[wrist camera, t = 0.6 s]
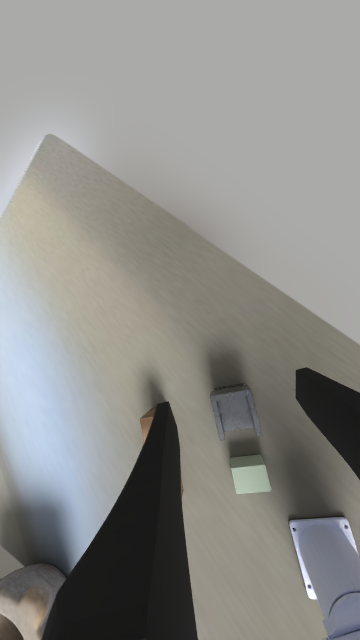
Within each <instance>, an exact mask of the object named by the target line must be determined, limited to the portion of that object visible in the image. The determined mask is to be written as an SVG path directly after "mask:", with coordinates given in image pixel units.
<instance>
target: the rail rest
mask: <svg viewBox="0 0 360 640" xmlns="http://www.w3.org/2000/svg"><path fill="white" fill-rule="evenodd" d="M230 462H231V470H232V475H233V479H234V484H235V488H236V493H237V494H245V493H257V492H269V491H271V487H270V483H269V479H268V475H267V471H266V467H265V464H264V461H263V458H262V456H261V454H259V455H250V456H241V457H233V458H230Z"/></svg>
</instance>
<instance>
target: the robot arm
mask: <svg viewBox="0 0 360 640" xmlns="http://www.w3.org/2000/svg"><path fill="white" fill-rule="evenodd" d="M296 399H297V401H298V402H299V404H300V405H301V407H302V408H303V410H304V411H305V413H306V414H307V416H308V417H309V418H310V419H311V420H312V422H313V423H314V424H315V425H316V426H317V428H318V429H319V430H320V431H321V432H322V434H323V435H324V436H325V437H326V438H327V439H328V441H329V442H330V443H331V444H332V445H333V446H334V448H335V449H336V450H337V451H338V452H339V454H340V455H341V456H342V457H343V458H344V460H345V461H346V462H347V463H348V465H349V466H350V467H351V468H352V470H353V471H354V473H355V474H356V475H357V477H358V478H359V480H360V393H359V392H357V391H355V390H353V389H350V388H348V387H346V386H344V385H342V384H340V383H338V382H336V381H334V380H332V379H330V378H328V377H326V376H324V375H322V374H320V373H318V372H315V371H313V370H311V369H309V368H307V367H306V368H302V369H298V370H296ZM289 525H290V529H291V533H292V537H293V541H294V544H295V548H296V552H297V556H298V560H299V564H300V567H301V571H302V575H303V579H304V583H305V587H306V590H307V594H308V596H309V598H311V599H317V600H318V603H319V605H320V608H321V611H322V613H323V616H324V618H325V620H323V623H324V626H325V629H326V631H327V634H328V637H329V639H330V640H360V556H359V554H358V551H357V548H356V545H355V541H354V538H353V535H352V532H351V528H350V525H349V522H348V520H347V519H346V518H345V517H333V518H317V519H301V520H290V521H289ZM344 525H347V526H346V527H344ZM293 528H295V529H293ZM308 585H310V586H308ZM329 639H328V638H327V637H326V638H323V639H322V640H329ZM41 640H198V637H197V630H196V622H195V614H194V607H193V599H192V591H191V583H190V574H189V566H188V558H187V549H186V540H185V531H184V522H183V512H182V499H181V470H180V446H179V438H178V430H177V425H176V422H175V419H174V416H173V413H172V410H171V407H170V404H169V401H168V402H164V403H160V404H158V405H157V406H156V410H155V413H154V417H153V420H152V423H151V426H150V429H149V432H148V434H147V437H146V440H145V442H144V445H143V447H142V450H141V452H140V454H139V457H138V459H137V462H136V464H135V466H134V468H133V470H132V472H131V474H130V476H129V478H128V480H127V482H126V484H125V486H124V488H123V490H122V492H121V494H120V496H119V497H118V499H117V501H116V503H115V505H114V506H113V508H112V510H111V512H110V513H109V515H108V517H107V518H106V520H105V521H104V523H103V525H102V526H101V528H100V529H99V531H98V533H97V534H96V536H95V537H94V539H93V541H92V542H91V544H90V545H89V547H88V548H87V550H86V551H85V553H84V554H83V556H82V557H81V559H80V560H79V561H78V563H77V564H76V566H75V567H74V569H73V570H72V571H71V573H70V574H69V576H68V577H67V579H66V580H65V582H64V583H63V584H62V586H61V587H60V589H59V590H58V591H57V594H56V597H55V600H54V603H53V605H52V608H51V610H50V613H49V616H48V619H47V622H46V625H45V629H44V632H43V635H42V639H41Z"/></svg>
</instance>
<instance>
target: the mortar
mask: <svg viewBox="0 0 360 640" xmlns="http://www.w3.org/2000/svg"><path fill="white" fill-rule="evenodd" d="M65 580H66V577H65V576H64V575H63V573H62V572H61V571H60V570H59V569H57V568H56V567H54V566H52V565H50V564H45V563H39V564H33V565H30V566H26V567H24V568H21V569H19V570H16V571H14V572H12V573H10V574H9V575H7V576H5V577H4V578H2V579H0V640H41V639H42V635H43V632H44V629H45V625H46V622H47V619H48V616H49V613H50V610H51V608H52V605H53V603H54V600H55V597H56V594H57V591H58V590H59V589H60V587H61V586H62V584H63V583H64V582H65Z"/></svg>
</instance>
